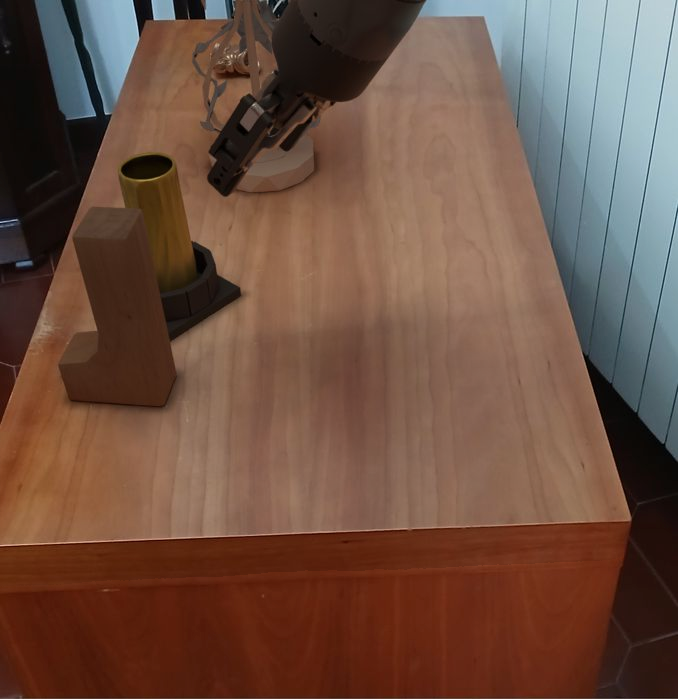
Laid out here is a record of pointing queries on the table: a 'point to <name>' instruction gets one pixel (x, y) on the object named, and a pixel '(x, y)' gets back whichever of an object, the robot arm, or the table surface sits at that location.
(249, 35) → the table lamp
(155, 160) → the vase
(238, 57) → the ornament
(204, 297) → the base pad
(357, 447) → the table surface
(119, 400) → the wooden block
